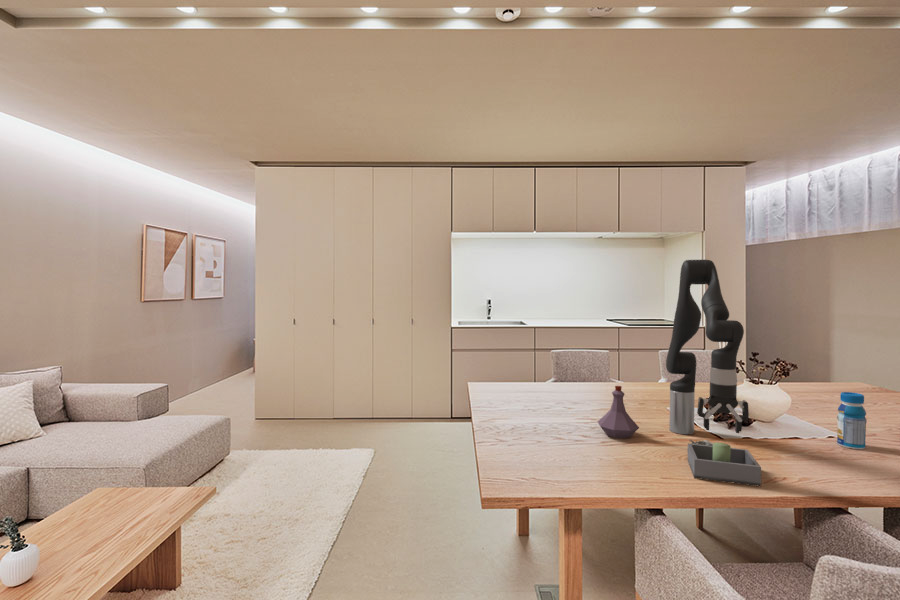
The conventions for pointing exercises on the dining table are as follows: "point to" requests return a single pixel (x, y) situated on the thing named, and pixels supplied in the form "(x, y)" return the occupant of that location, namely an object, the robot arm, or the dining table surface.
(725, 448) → the green capsule
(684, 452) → the dining table surface
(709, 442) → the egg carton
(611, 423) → the flask
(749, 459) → the bin
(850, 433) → the beverage bottle
